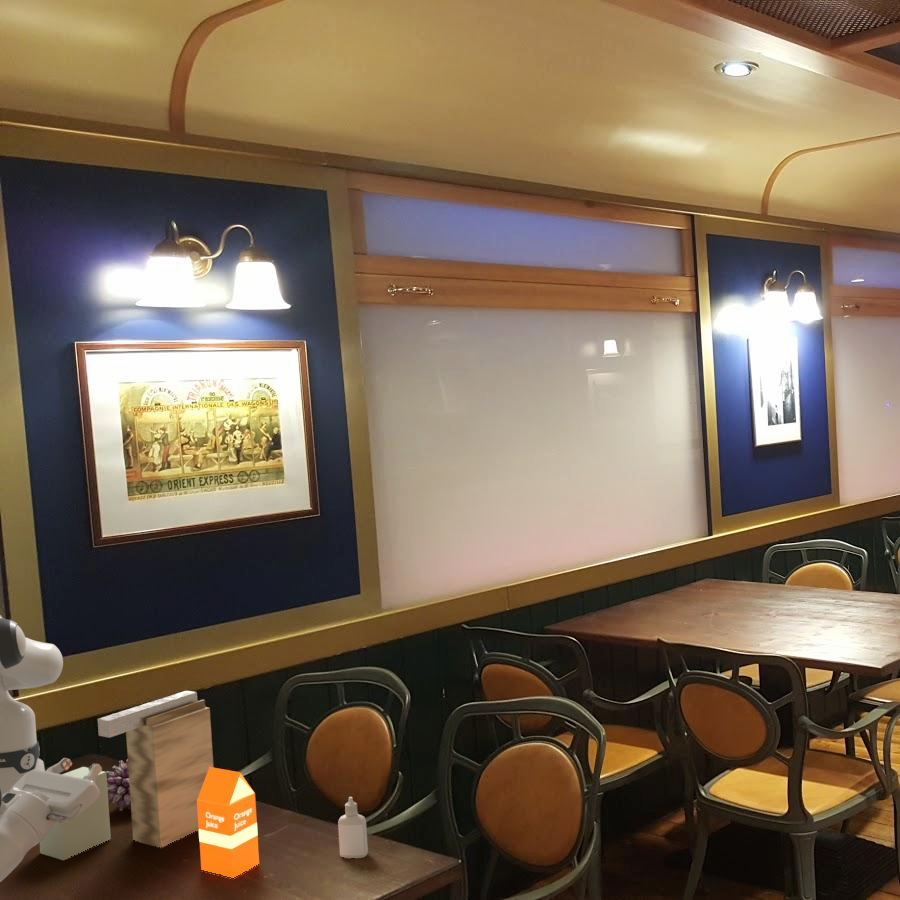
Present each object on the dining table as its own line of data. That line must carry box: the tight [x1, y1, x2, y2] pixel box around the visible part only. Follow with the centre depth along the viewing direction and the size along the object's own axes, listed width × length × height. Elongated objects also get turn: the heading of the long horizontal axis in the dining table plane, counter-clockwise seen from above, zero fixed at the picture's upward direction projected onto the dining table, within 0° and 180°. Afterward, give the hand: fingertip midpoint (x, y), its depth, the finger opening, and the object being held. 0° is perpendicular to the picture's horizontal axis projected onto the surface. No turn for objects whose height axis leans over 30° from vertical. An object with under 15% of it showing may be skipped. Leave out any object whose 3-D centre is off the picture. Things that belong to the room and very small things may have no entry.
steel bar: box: [97, 690, 198, 738], centre depth 227 cm, size 4×24×4 cm, turn 146°
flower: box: [106, 758, 131, 812], centre depth 246 cm, size 12×12×12 cm
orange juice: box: [197, 766, 260, 879], centre depth 210 cm, size 8×9×20 cm
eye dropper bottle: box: [337, 796, 369, 859], centre depth 213 cm, size 4×6×12 cm
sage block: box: [39, 766, 112, 861], centre depth 226 cm, size 8×12×15 cm, turn 146°
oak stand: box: [125, 699, 214, 849], centre depth 231 cm, size 9×16×28 cm, turn 146°
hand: (83, 763), depth 212 cm, fingers open, 8 cm apart
